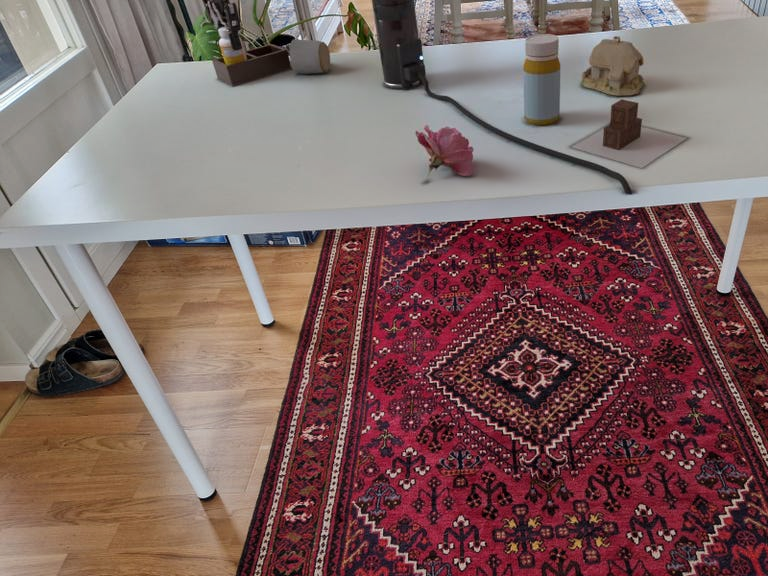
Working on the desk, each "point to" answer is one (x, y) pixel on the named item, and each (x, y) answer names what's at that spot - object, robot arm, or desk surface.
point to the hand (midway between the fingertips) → (232, 47)
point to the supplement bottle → (230, 49)
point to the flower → (447, 149)
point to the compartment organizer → (253, 65)
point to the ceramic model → (614, 68)
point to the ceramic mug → (309, 56)
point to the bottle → (541, 79)
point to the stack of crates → (628, 138)
